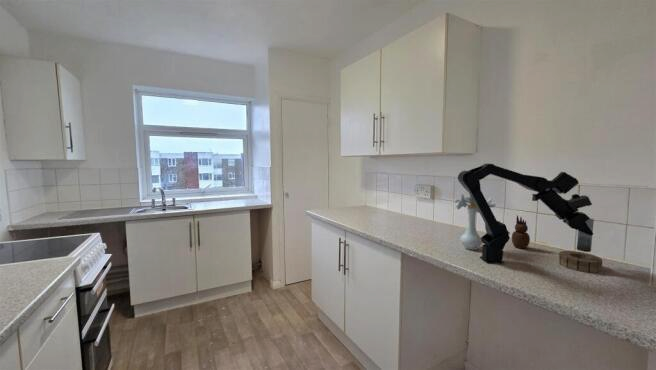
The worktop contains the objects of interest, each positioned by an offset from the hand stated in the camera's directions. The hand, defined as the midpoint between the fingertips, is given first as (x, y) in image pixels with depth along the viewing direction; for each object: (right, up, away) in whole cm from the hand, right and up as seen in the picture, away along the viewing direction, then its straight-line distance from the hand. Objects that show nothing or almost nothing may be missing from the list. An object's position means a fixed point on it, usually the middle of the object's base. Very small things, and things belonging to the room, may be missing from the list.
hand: (589, 233), depth 104 cm
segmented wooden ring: (-1, -13, +4) cm, 14 cm away
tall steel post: (-1, -7, +1) cm, 7 cm away
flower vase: (-30, -11, +27) cm, 42 cm away
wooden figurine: (-8, -11, +26) cm, 29 cm away
